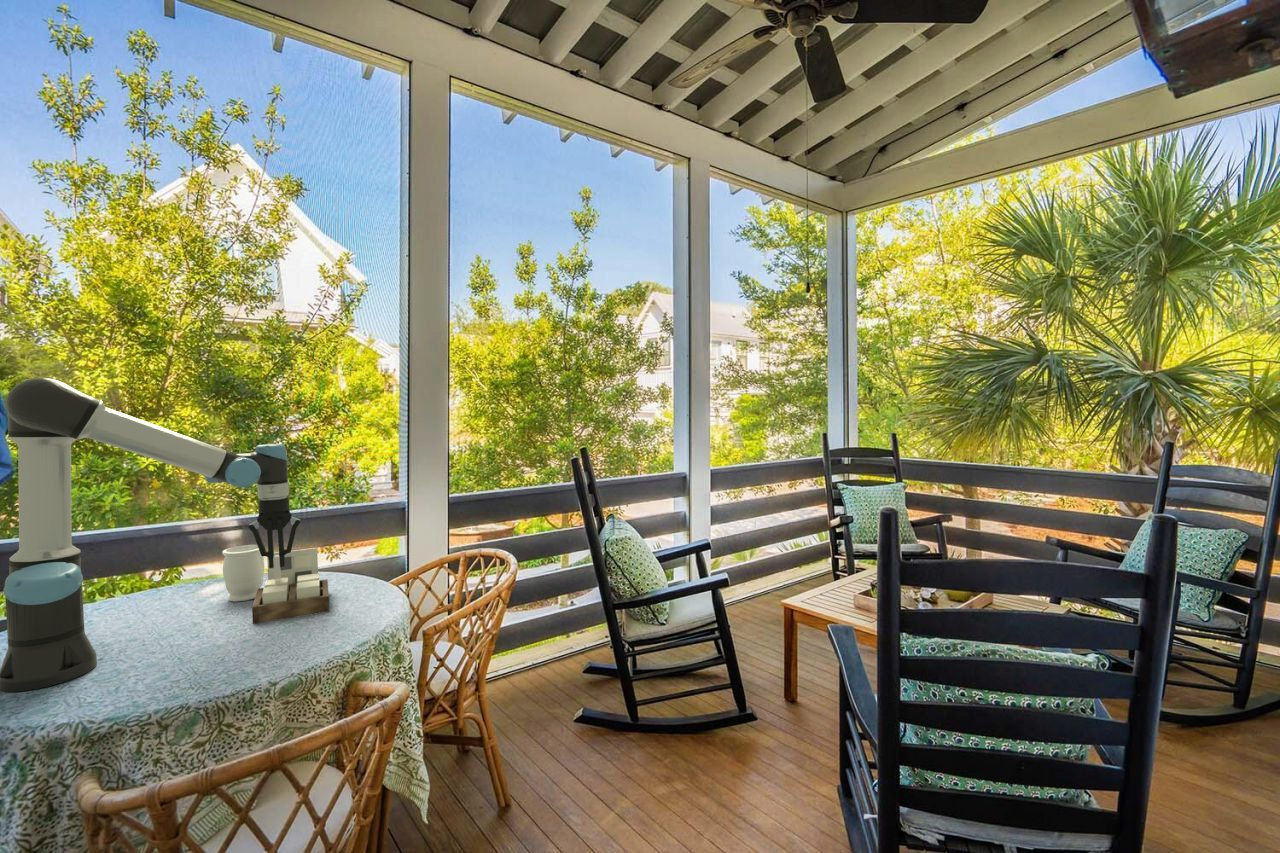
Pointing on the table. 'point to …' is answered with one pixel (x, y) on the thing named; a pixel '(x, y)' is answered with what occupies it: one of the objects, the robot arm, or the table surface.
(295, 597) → the board
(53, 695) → the table surface
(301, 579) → the button far right
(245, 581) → the jar
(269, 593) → the button near left
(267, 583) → the button far left
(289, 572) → the card
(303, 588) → the button near right
